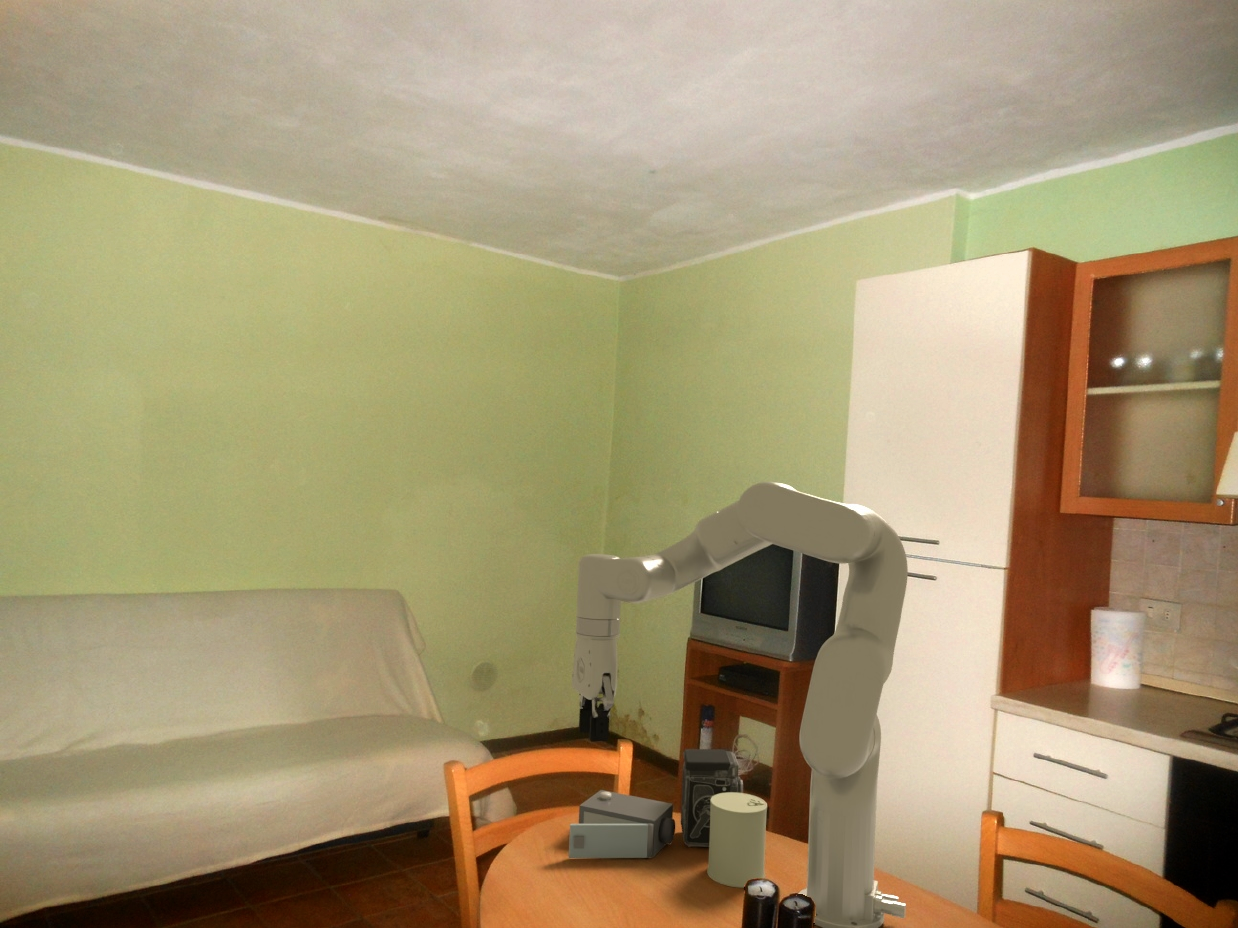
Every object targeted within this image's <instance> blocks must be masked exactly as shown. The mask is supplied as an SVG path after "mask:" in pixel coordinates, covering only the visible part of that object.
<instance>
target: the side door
mask: <svg viewBox="0 0 1238 928" xmlns="http://www.w3.org/2000/svg"><path fill="white" fill-rule="evenodd" d="M653 827H654V824H652V823H648V824H579V823H570V824H569V840H568V843H569V844H568V859H633V858H634V859H635V858H636V859H637V858H638V859H645V858H647V859H652V858H653V857H652V851H653Z"/></svg>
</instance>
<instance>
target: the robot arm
mask: <svg viewBox="0 0 1238 928" xmlns="http://www.w3.org/2000/svg"><path fill="white" fill-rule="evenodd" d="M738 499H739V500H737V501H735V502H733V503H731V504H729V505H727V506H725V507H723V508H721V509H719V510H717V511H715V512H713V513H711V514H709V515H707V516H705V517H704V518H702V519H700V520H699V521H698V522H697V523H696V525H695V528H694V530H693V531H692V532H691V533H690V534H688V536H686V537H685V538H682V539H681V540H679V541H678V542H676V543H674V544H672V545H670V546H668V547H666V548H664V549H662V550H660V551H658V552H656V553H653V554H648V555H641V556H639V555H637V556H631V557H623V558H620V557H619V556H617V555H614V554H605V553H592V554H591V553H588V554H585V555H582V556H581V557H580V559H579V561H578V573H577V593H576V595H577V598H576V600H577V601H576V617H575V618H576V619H575V620H576V621H575V637H576V640H575V645H574V654H573V662H572V663H573V664H572V665H573V666H572V674H571V675H572V678H571V686H572V688H573V689H574V691H575V692H577V693H578V694H579V713H578V715H579V717H578V720H579V721H578V731H579V732H580V733H581V734H583V733H585V734H586V733H589V735H588V736H589V742H592V743H594V742H595V743H596V742H607V741H608V740H609V739H610V738H609V737H610V736H609V735H610V733H609V731H610V717H611V709H612V707H613V706H614V703H615V702H614V701H615V700H614V698H615V697H616V695H617V686H618V645H617V644H618V642H617V639H619V638H620V637H621V636H620V635H621V616H622V614H621V613H622V602H624V603H630V604H642V603H645V602H649V601H653V600H658V599H662V598H664V597H666V596H669V595H671V594H674V593H675V592H676V593H677V592H678V591H679V590H682V589H684V588H686V587H688V586H690V585H692V584H694V583H696V582H698V581H700V580H702V579H704V578H706V577H708V576H709V575H712V574H714V573H716V572H720V571H721V570H723V569H724V568H726V567H728V566H731V565H732V564H735V563H736V562H738V561H740V560H742V559H744V558H746V557H748V556H750V555H753V554H754V553H757V552H758V551H761V550H762V549H765V548H767V547H769V546H771V545H775V546H779V547H781V548H785V549H788V550H791V551H794V552H798V553H800V554H804V555H806V556H809V557H813V558H816V559H819V560H822V561H826V562H829V563H833V564H834V563H835V564H841V565H842V564H844V565H845V564H848V577H847V578H848V579H847V581H846V585H845V589H844V593H843V595H842V596H843V597H842V603H841V609H840V613H839V616H838V621H837V625H836V627H835V631H834V633H833V635H832V636H830V637H829V638H828V639H827V640H825V642H824V643H823V644H822V645H821V647H820V649H819V650H818V652H817V655H816V658H815V661H814V664H813V668H812V672H811V676H810V682H809V687H808V689H807V690H808V691H807V696H806V700H805V704H804V709H803V714H802V717H801V718H802V719H801V723H800V729H799V735H798V736H799V747H800V751H801V753H802V756H803V758H804V760H805V762H806V764H808V766H809V767H810V768H811V773H810V774H811V775H810V776H811V777H810V789H809V790H810V791H809V792H810V793H809V812H808V813H809V815H808V816H809V817H808V818H809V819H808V840H807V841H808V843H807V844H808V846H807V848H808V849H807V870H806V871H807V873H806V875H807V876H806V877H807V878H806V888H803V889H802V890H800V891H799V892H798V893H797V894H803V895H805V896H807V897H811V898H812V900H813V901H814V902H815V904H816V916H815V924H814V925H815V926H817V927H820V928H880V927H881V926H882V925H883V923H884V921H885V915H891V916H892V917H896V918H899V919H905V918H906V903H904V902H899V896H896V895H893V894H885V893H882V892H883V891H881V890H879V881H878V880H875V859H876V858H875V857H876V855H875V854H876V851H875V850H876V827H877V825H876V824H877V823H876V822H877V821H876V820H877V807H878V806H877V803H878V801H877V800H878V782H879V781H878V778H879V767H880V756H881V755H880V754H881V743H882V732H881V731H882V730H881V723H880V719H879V717H878V714H877V713H878V710H879V704H880V700H881V696H882V692H883V688H884V685H885V683H886V682H887V680H888V679H889V677H890V675H891V672H892V670H893V669H892V668H893V663H894V654H895V650H896V649H895V647H896V642H897V638H898V634H899V627H900V624H901V619H902V611H903V606H904V601H905V597H906V592H907V584H908V572H909V571H908V570H909V569H908V560H907V554H906V551H905V547H904V545H903V543H902V540H901V539H900V535H898V533H897V532H896V530H895V529H894V528H893V527H892V526H891V524H890V523H888V522H887V520H886V519H884V518H883V517H882V516H881V515H879V514H878V513H877V512H875V511H874V510H872V509H870V508H868V507H866V506H864V505H860V504H855V503H843V502H837V501H833V500H830V499H826V498H823V497H818V496H816V495H812V494H807V493H805V492H801V491H798V490H797V489H795V488H793V487H792V486H791V485H789V484H785V483H782V482H775V481H761V482H757V483H755V484H752V485H751V486H749V487H748V488H747V489H745V490H744V492H743V493H742V494H741V495H740V497H739V498H738ZM599 695H602V697H598V696H599ZM598 702H600V703H599V705H598ZM601 702H602V703H601Z"/></svg>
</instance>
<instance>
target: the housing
mask: <svg viewBox="0 0 1238 928" xmlns="http://www.w3.org/2000/svg"><path fill="white" fill-rule="evenodd" d="M578 810H579V811H578V824H648V823H652V824H654V827H653V851H652V858H655V856H656V855H657V854H658V853H659V852H660V851H661V850H662V849H663V848H665V846H666V845H671V844H672V843H673V841H674V839H675V834H676V821H675V820H676V819H674V818H673V815H674V814H673V813H674V803H670V802H666V801H661V800H660V801H659V800H655V799H650V798H644V797H639V796H634V795H628V794H625V793H624V794H623V793H619V792H615V791H610V790H609V791H608V790H603V789H600V790H598V792H596V793H595V794H593V795H591V796H590V797H588V798H587V799H586V800H585V801H583V802H582V803H581V804H580V805H579V808H578Z"/></svg>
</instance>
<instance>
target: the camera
mask: <svg viewBox="0 0 1238 928" xmlns="http://www.w3.org/2000/svg"><path fill="white" fill-rule="evenodd" d="M683 760H684V762H683V763H682V780H681V781H682V782H681V785H682V786H681V807H680V826H681V832H682V833H681V834H682V841H683V843H684V844H685V845H686V846H687V847H688V848H691V847H702V848H703V847H704V848H706V847H707V848H709V841H710V806H711V803H710V799H711V798H712V797H713V796H714V795H716V794H720V793H727V792H736V793H744V782H743V779H741V777H740V776H739V769H740V768H739V767H740V766H739V762H738V759H737V757H736V754H735V753H734V752H733V751H731V750H730V751H729V750H728V751H727V750H726V749H725V748H724V749H723V748H721V749H720V748H719V749H715V748H714V749H711V748H710V749H709V748H708V749H707V748H704V749H703V748H686V749H684V750H683Z"/></svg>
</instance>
